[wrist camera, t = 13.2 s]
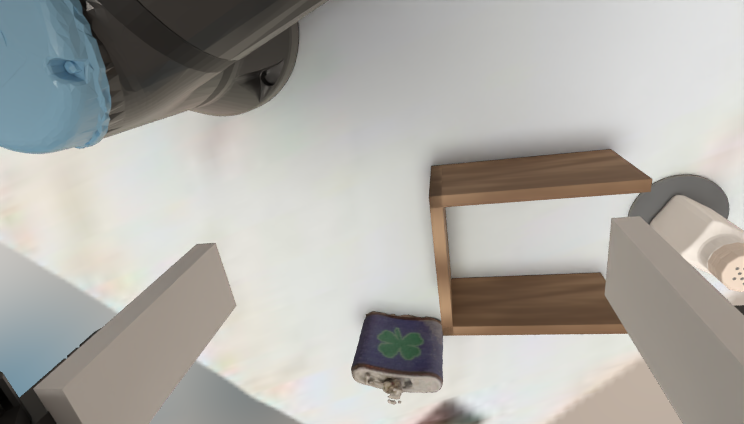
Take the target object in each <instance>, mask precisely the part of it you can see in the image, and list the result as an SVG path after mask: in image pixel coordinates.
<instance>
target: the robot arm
mask: <svg viewBox="0 0 744 424" xmlns="http://www.w3.org/2000/svg"><path fill="white" fill-rule="evenodd" d="M327 1H328V0H0V146H1V147H3V148H6V149H8V150H12V151H16V152H22V153H29V154H45V153H52V152H57V151H61V150H65V149H69V148H73V147H75V148H79V149H80V148H85V147H90V146H93V145H95V144H97V143H98V142H100V141H101V140H102V139H103V138H106V137H109V136H112V135H115V134H118V133H121V132H124V131H127V130H130V129H133V128H136V127H139V126H142V125H145V124H148V123H151V122H154V121H158V120H161V119H164V118H167V117H170V116H173V115H176V114H179V113H182V112H185V111H187V110H190V111H194V112H198V113H203V114H207V115H213V116H232V115H238V114H242V113H245V112H248V111H251V110H253V109H255V108H258V107H260V106H262V105H263V104H265V103H267V102H268V101H270V100H271V99H272V98H273V97H275V96H276V95H277V94H278V93H279V91H280V90H281V89H282V88H283V86H284V85H285V83H286V82H287V80H288V78H289V76H290V74H291V72H292V70H293V67H294V64H295V60H296V56H297V51H298V38H299V35H298V22H297V21H299V20H300V19H302V18H303V17H305V16H306V15H308V14H309V13H311V12H312V11H314V10H315V9H317V8H318V7H320V6H321V5H323V4H324V3H325V2H327ZM605 296H606V298H607V300H608V301H609V303H610V305H611V306H612V308H613V310H614V311H615V313H616V315H617V316H618V318H619V320H620V321H621V323H622V324H623V326H624V328H625V329H626V331H627V333H628V334H629V336H630V338H631V339H632V341H633V343H634V344H635V346H636V347H637V349H638V351H639V352H640V354H641V356H642V357H643V359H644V361H645V362H646V364H647V365H648V367H649V369H650V370H651V372H652V374H653V375H654V377H655V378H656V380H657V382H658V384H659V385H660V387H661V389H662V390H663V392H664V394H665V395H666V397H667V398H668V400H669V402H670V403H671V405H672V406H673V408H674V410H675V411H676V413H677V415H678V417H679V418H680V420H681V421H682V423H683V424H744V305H742V306H734V305H732V304H731V303H730V302H729V301H728V300H727V299H726V298H725V297H724V296H723V295H722V294H721V293H720V292H719V291H718V290H717V289H716V288H715V287H714V286H713V285H711V284H710V283H709V282H708V281H707V280H706V279H705V278H704V277H703V276H702V275H701V274H700V273H699V272H698V271H697V270H696V269H695V268H694V267H693V266H692V265H691V264H689V263H688V262H687V261H686V260H685V259H684V258H683V257H682V256H681V255H680V254H679V253H678V252H677V251H676V250H675V249H674V248H673V247H672V246H671V245H670V244H668V243H667V242H666V241H665V240H664V239H663V238H662V237H661V236H660V235H659V234H658V233H657V232H656V231H655V230H654V229H653V228H652V227H651V226H650V225H649V224H647V223H646V222H645V221H644V220H643V219H642V218H641V217H640V216H637V217H621V218H611V229H610V240H609V251H608V262H607V273H606V285H605ZM235 307H236V303H235V300H234V297H233V294H232V291H231V288H230V285H229V282H228V279H227V276H226V273H225V270H224V267H223V264H222V261H221V258H220V255H219V252H218V249H217V246H216V243H207V244H196V245H195V246H194V247H193V248H192V249H191V250H190V251H188V252H187V253H186V254H185V255H184V256H183V257H182V258H181V259H179V260H178V261H177V262H176V263H175V264H174V265H173V266H171V267H170V268H169V269H168V270H167V271H166V272H165V273H164V274H162V275H161V276H160V277H159V278H158V279H157V280H156V281H154V282H153V283H152V284H151V285H150V286H149V287H148V288H147V289H145V290H144V291H143V292H142V293H141V294H140V295H139V296H137V297H136V298H135V299H134V300H133V301H132V302H131V303H130V304H128V305H127V306H126V307H125V308H124V309H123V310H122V311H120V312H119V313H118V314H117V315H116V316H115V317H114V318H113V319H111V320H110V321H109V322H108V323H107V324H106V325H105V326H103V327H102V328H100V329H99V330H97V331H95V332H94V333H93V334H92V335H90V336H89V337H88V338H87V339H86V340H85V341H84V342H82V343H81V344H80V347H79V348H76V349H75V350H73V351H72V352H71V353H70V354H69V355H68V356H67V359H63V360H62V361H61V362H60V363H58V364H57V365H56V366H55V367H54V368H53V369H52V370H51V371H49V372H48V373H47V374H46V375H45V376H44V377H43V378H42V379H40V380H39V381H38V382H37V383H36V384H35V385H33V386H32V387H31V388H30V389H29V390H28V391H27V392H25V393H24V394H23V395H22V396H21V397H20V398H19V397H18V395H17V394H16V392H15V391H14V389H13V388H12V386H11V385H10V383H9V382H8V380H7V379H6V377H5V376H4V374H3V373H2V372H0V424H149V423H150V421H151V420H152V419H153V417H154V416H155V415H156V413H157V412H158V411H159V409H160V408H161V407H162V405H163V404H164V403H165V401H166V400H167V399H168V397H169V396H170V394H171V393H172V391H173V390H174V389H175V387H176V386H177V385H178V384H179V382H180V381H181V380H182V378H183V377H184V375H185V374H186V373H187V372H188V370H189V369H190V367H191V366H192V365H193V363H194V362H195V361H196V359H197V358H198V357H199V355H200V354H201V353H202V351H203V350H204V349H205V347H206V346H207V344H208V343H209V342H210V340H211V339H212V338H213V336H214V335H215V334H216V332H217V331H218V330H219V328H220V327H221V326H222V324H223V323H224V322H225V320H226V319H227V317H228V316H229V315H230V313H231V312H232V311H233V309H234V308H235Z"/></svg>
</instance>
